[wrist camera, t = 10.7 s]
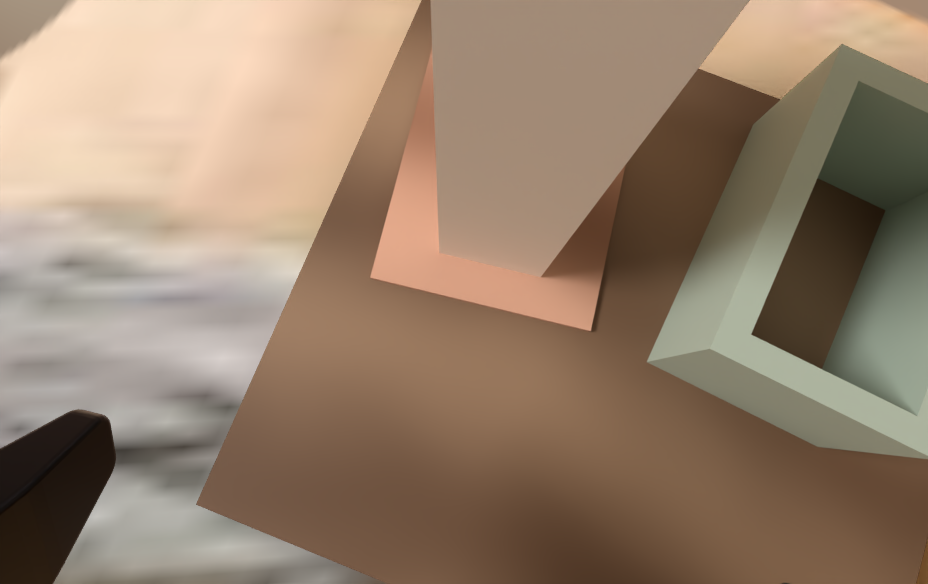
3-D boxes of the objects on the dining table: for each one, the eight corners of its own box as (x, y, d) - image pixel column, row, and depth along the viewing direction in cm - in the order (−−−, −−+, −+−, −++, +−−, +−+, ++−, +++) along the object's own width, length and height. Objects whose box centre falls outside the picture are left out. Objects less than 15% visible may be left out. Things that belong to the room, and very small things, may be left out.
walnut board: (839, 757, 16) (869, 784, 15) (210, 498, 17) (193, 505, 16) (987, 200, 19) (1023, 187, 17) (436, -9, 19) (435, -35, 18)
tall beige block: (540, 277, 17) (775, -35, 5) (439, 253, 17) (426, -116, 5) (581, 95, 18) (866, -549, 6) (484, 72, 18) (569, -617, 6)
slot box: (817, 446, 16) (936, 460, 12) (646, 361, 17) (709, 348, 13) (914, 200, 17) (1051, 141, 14) (753, 124, 18) (841, 44, 14)
